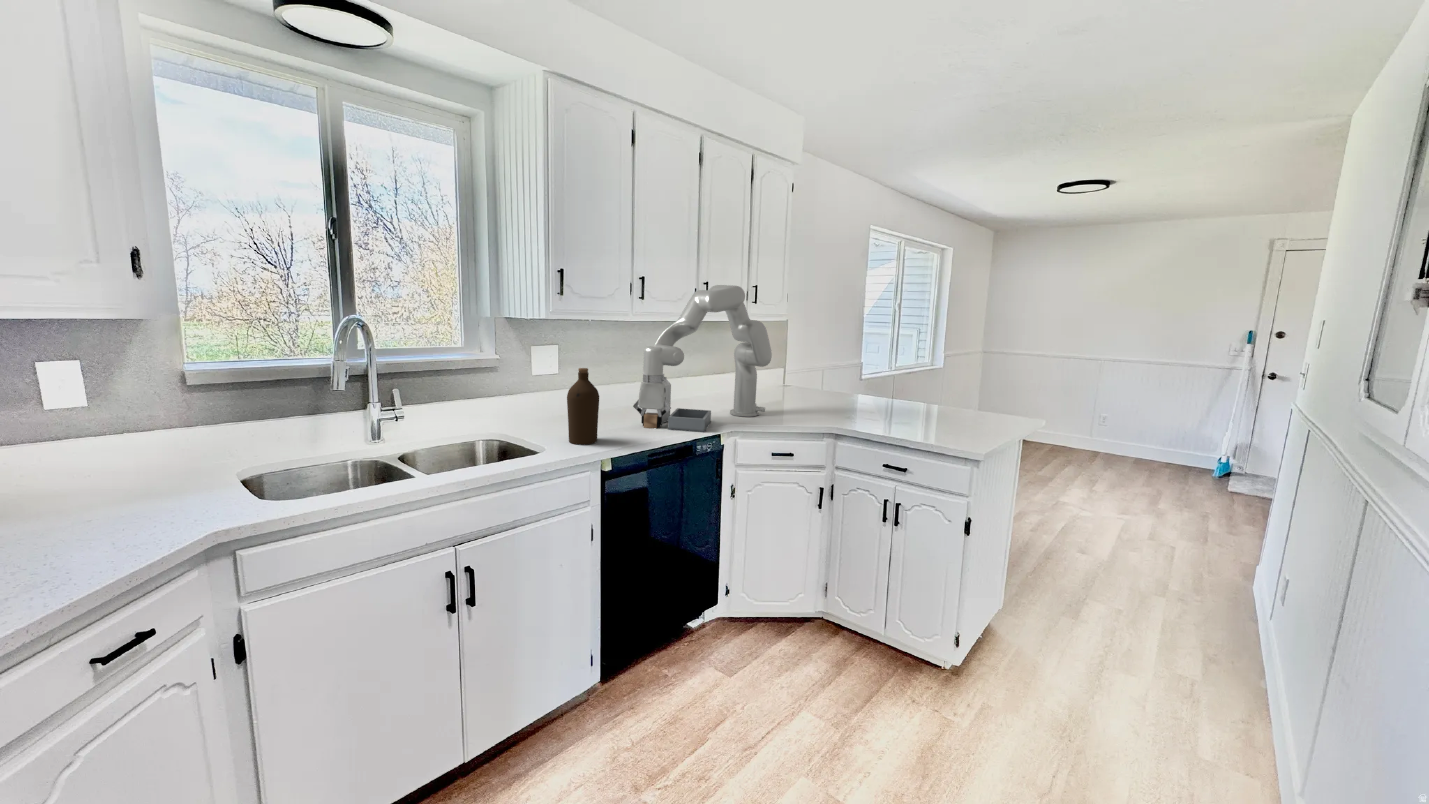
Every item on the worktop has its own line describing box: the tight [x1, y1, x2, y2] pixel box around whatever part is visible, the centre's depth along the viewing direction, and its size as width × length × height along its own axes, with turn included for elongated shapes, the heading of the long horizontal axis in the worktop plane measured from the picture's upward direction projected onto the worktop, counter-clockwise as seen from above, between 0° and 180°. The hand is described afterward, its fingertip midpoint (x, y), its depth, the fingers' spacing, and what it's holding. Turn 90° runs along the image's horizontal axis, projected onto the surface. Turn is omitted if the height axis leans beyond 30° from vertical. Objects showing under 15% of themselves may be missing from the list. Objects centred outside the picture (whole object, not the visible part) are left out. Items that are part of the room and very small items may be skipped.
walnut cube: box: [643, 413, 659, 429], centre depth 222 cm, size 5×5×5 cm
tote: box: [667, 407, 712, 433], centre depth 227 cm, size 14×18×5 cm
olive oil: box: [566, 367, 600, 446], centre depth 194 cm, size 11×11×25 cm
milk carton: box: [646, 373, 672, 424], centre depth 232 cm, size 7×7×19 cm
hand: (651, 425), depth 223 cm, fingers closed on walnut cube, 5 cm apart
